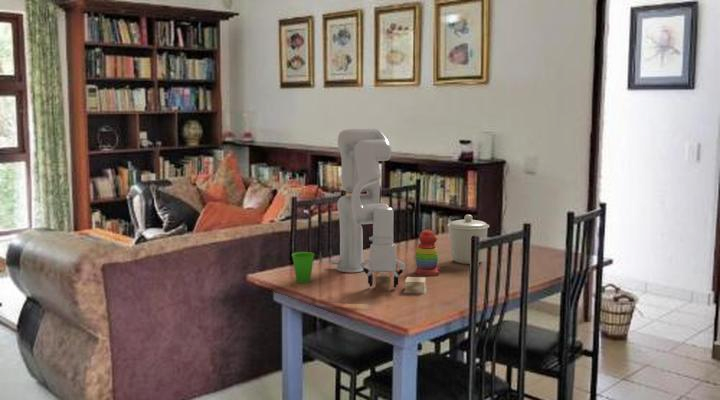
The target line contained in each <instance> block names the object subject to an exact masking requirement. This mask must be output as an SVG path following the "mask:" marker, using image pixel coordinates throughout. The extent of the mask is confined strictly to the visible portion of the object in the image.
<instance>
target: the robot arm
mask: <svg viewBox="0 0 720 400" xmlns="http://www.w3.org/2000/svg"><path fill="white" fill-rule="evenodd" d="M337 145H338V150H339V153H340V157H341V177H340V178H341V189H343V191H345V192H348V193H351V194H346V195H342V196H341V197H340V198H339V199H338V200H337V212H338V219H339V258H337V259H335V258H330V259H329V263H330V264H331V265H337V266H336V270H337V271H338V272H341V273H342V272H343V273H361V272H364V273H365V274H366V276H367V284H368V285H369V288H370V287H373V285H374V284H373V283H374V279H373V278H374V277H373V272H383V273H385V272H386V273H392V274H393V275H394V276H393V288H395V289H396V288H397V286H399V276H400V275H401V274H402V273H403V272H404V271H405V269H406V268H407V265H406V264H405V263H404V262H402V261H401V260H399V259H398V257H397V254H398V253H397V248H396V247H397V246H396V243H395V242H394V208H392V207H391V206H389V205H388V204H387V203H383V202H382V203H380V196H381V195H380V194H381V193H380V192H381V191H380V190H381V188H380V187H381V183H380V180H381V178H382V175H381V169H380V163H379V162H385V161H389V160H390V159H391V156H392V147H391V144H390V142H389V140H388V139H387V137H386V136H385V135H384V134H383V132H382V131H381V130H379V129H378V128H350V129H349V128H348V129H343V130H342V131H340V132H339V133H338V135H337ZM361 192H366V193H365V194H364V193H363V194H361ZM370 224H371V225H372V235H371V236H369V237H368V240H369V241H371V244H370V247H369V254H368V256H369V258H368V259H366V260H365V261H364V257H363V256H364V255H363V254H364V253H363V252H364V251H363V248H364V246H363V244H364V242H363V240H364V239H363V238H364V237H363V235H364V234H363V232H364V230H363V226H362V225H370ZM366 265H368V267H367V266H366ZM398 266H399V267H400V269H399V270H398V269H397V267H398Z"/></svg>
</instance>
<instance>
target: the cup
mask: <svg viewBox="0 0 720 400" xmlns="http://www.w3.org/2000/svg"><path fill="white" fill-rule="evenodd" d="M315 255H316V254H315V253H314V252H308V251H299V252H298V251H297V252H293V253H292V254H291V256H292V262H293V268H294V273H295V278H296V279H295V280H296V283H297V284H308V283H310V282H311V278H312V270H313V265H314V264H313V263H314V257H315Z"/></svg>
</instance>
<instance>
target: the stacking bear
mask: <svg viewBox="0 0 720 400" xmlns="http://www.w3.org/2000/svg"><path fill="white" fill-rule="evenodd" d="M418 239H419V242H420V243H419V244H418V246H417V247H416V250H415V251H416V252H415V258H414V259H415V263H416V269H415V273H416V274H418V275H423V276H432V277H434V276H439V275H440V272H441V267H440V266H438V262H439V251H438V249H437V245H436V242H437V241H438V236H437V235H435V233H434V231H432V230H431V229H427V228H426V229H425V230H422V231H421V232H420V233H419V238H418Z"/></svg>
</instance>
